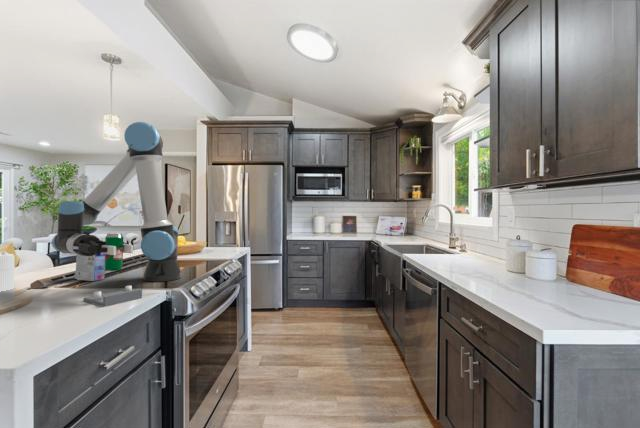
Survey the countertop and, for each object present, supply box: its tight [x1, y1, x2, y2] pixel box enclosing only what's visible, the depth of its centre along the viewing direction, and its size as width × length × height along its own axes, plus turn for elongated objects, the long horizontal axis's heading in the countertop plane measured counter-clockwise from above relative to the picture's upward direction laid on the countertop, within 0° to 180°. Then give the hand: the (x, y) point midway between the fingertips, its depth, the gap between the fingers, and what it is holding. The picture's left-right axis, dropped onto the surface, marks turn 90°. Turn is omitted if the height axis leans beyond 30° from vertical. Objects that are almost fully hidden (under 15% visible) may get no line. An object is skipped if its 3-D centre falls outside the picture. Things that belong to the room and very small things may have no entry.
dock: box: [83, 285, 143, 307], centre depth 107 cm, size 12×12×4 cm
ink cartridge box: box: [74, 252, 106, 282], centre depth 137 cm, size 10×6×14 cm, turn 78°
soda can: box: [104, 232, 124, 272], centre depth 107 cm, size 5×5×12 cm
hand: (123, 250), depth 105 cm, fingers closed on soda can, 5 cm apart
